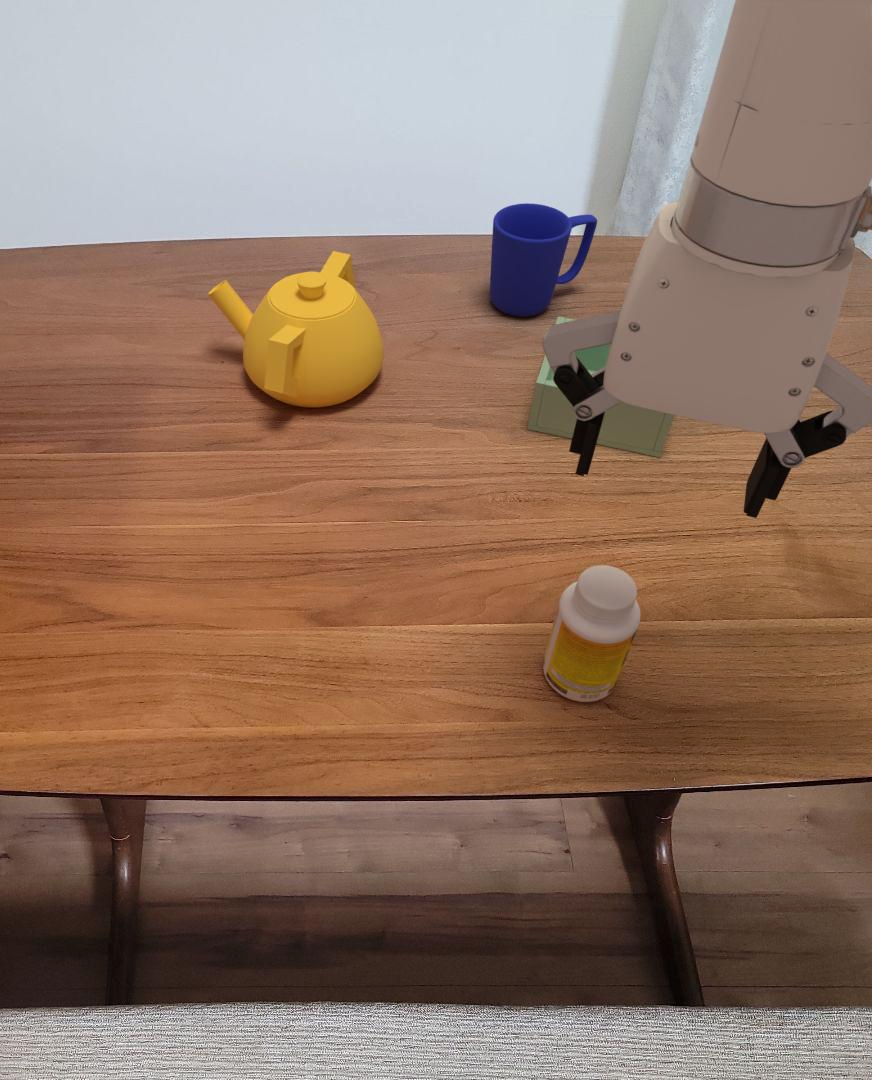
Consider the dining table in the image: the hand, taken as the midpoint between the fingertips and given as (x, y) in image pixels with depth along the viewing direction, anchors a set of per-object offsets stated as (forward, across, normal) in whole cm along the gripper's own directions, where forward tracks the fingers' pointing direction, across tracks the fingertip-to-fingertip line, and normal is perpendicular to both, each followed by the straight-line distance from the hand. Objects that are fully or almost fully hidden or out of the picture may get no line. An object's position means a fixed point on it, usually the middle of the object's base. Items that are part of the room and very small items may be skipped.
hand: (666, 480), depth 55 cm
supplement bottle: (+20, +1, 0) cm, 21 cm away
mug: (+20, +16, -50) cm, 56 cm away
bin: (+20, +5, -33) cm, 39 cm away
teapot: (+20, +36, -28) cm, 50 cm away
